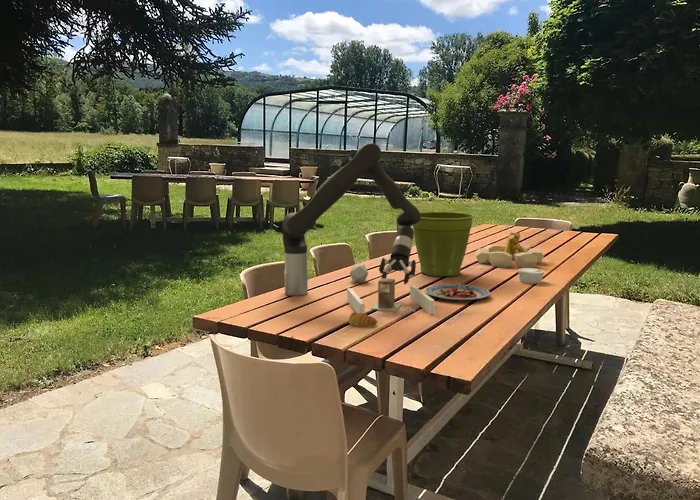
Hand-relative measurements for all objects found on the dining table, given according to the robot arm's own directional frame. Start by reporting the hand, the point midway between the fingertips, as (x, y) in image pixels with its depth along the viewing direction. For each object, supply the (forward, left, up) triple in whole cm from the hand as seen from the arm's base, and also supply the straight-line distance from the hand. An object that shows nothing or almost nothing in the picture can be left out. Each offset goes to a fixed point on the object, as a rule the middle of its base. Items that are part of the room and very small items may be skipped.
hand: (394, 282), depth 213 cm
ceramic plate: (+27, +2, -8) cm, 28 cm away
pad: (-6, -10, -7) cm, 14 cm away
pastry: (-19, -29, -8) cm, 36 cm away
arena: (-5, -10, -7) cm, 13 cm away
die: (-7, +35, -7) cm, 36 cm away
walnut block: (-6, -10, -7) cm, 13 cm away
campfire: (+83, +67, -8) cm, 107 cm away
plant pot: (+36, +46, -7) cm, 59 cm away
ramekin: (+70, +21, -7) cm, 74 cm away
